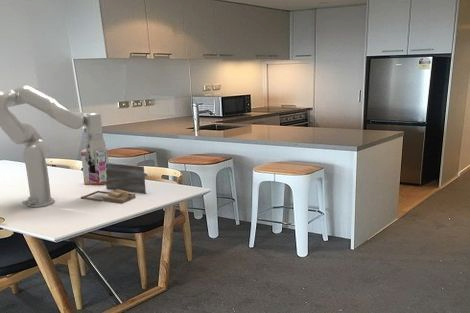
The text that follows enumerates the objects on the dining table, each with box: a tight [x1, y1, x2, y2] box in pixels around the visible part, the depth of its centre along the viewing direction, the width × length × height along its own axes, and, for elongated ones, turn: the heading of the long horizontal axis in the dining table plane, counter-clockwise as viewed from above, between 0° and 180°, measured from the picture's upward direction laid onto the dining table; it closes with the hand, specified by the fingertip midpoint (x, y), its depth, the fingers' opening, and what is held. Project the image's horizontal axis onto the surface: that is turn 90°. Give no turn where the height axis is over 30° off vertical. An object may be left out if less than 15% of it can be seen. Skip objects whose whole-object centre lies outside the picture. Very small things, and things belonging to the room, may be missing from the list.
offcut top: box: [107, 189, 128, 198], centre depth 208 cm, size 6×8×2 cm
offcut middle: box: [105, 195, 129, 200], centre depth 208 cm, size 7×9×2 cm
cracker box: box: [80, 148, 109, 186], centre depth 241 cm, size 14×6×21 cm, turn 84°
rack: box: [80, 162, 147, 205], centre depth 213 cm, size 20×26×16 cm
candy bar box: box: [88, 150, 107, 183], centre depth 209 cm, size 11×5×16 cm, turn 46°
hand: (97, 171), depth 210 cm, fingers closed on candy bar box, 6 cm apart
